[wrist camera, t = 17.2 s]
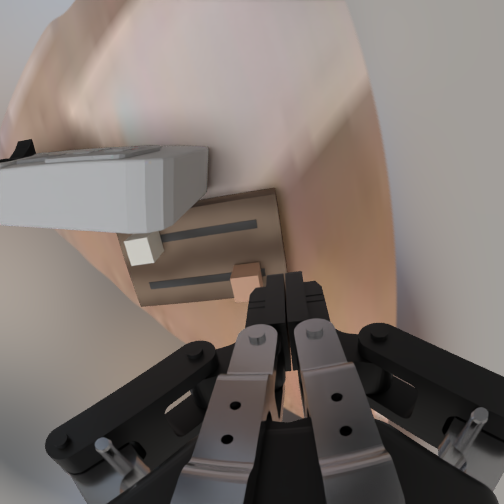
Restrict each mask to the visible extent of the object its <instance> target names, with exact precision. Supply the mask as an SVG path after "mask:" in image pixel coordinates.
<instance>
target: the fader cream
mask: <svg viewBox="0 0 504 504" xmlns="http://www.w3.org/2000/svg"><path fill="white" fill-rule="evenodd" d="M124 244H125V247H126V250H127V254H128V257H129V260H130V263H131V266H135V265H142V264H149V263H155V261H156V260H157V259H158V258H159V257H160V255H161V254H162V253H163V252H164V248H163V245H162V241H161V238H160V234H159V231H156V232H151V233H138V234H132V235H131V236H130V237H129V238H127V239H126V240H125V241H124Z"/></svg>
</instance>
